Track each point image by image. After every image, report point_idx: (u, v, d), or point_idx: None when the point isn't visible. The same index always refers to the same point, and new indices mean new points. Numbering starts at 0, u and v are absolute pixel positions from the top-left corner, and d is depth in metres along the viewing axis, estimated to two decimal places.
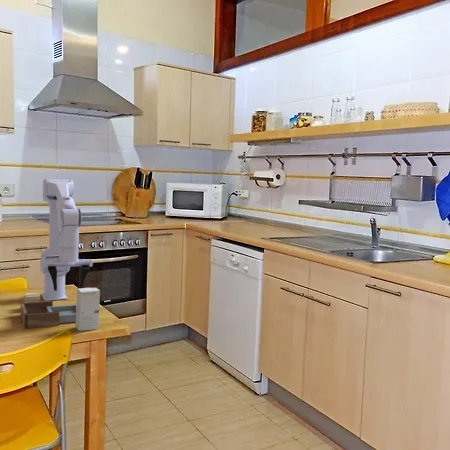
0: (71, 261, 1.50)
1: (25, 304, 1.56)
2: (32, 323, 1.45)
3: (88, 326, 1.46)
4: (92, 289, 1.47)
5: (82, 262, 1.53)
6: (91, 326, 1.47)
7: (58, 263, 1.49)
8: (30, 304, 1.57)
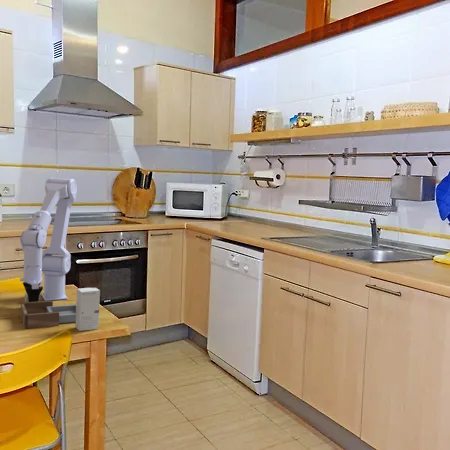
0: (23, 278, 1.61)
1: (25, 304, 1.56)
2: (32, 323, 1.45)
3: (88, 326, 1.46)
4: (92, 289, 1.47)
5: (28, 282, 1.58)
6: (91, 326, 1.47)
7: None
8: (30, 304, 1.57)
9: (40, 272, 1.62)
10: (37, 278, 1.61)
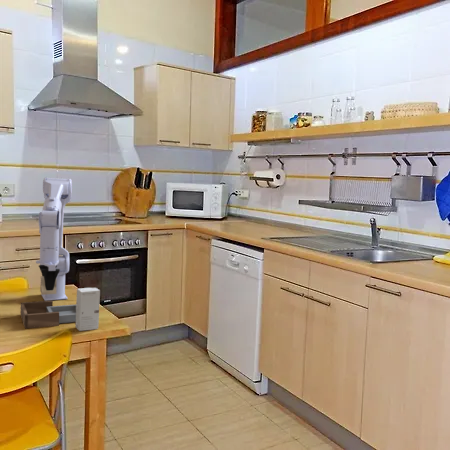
0: (40, 260, 1.56)
1: (25, 304, 1.56)
2: (32, 323, 1.45)
3: (88, 326, 1.46)
4: (92, 289, 1.47)
5: (44, 264, 1.54)
6: (91, 326, 1.47)
7: None
8: (30, 304, 1.57)
9: (57, 254, 1.57)
10: (54, 260, 1.56)
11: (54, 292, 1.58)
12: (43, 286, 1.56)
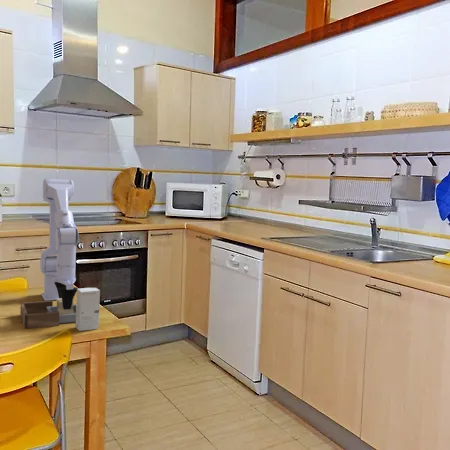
0: (56, 278, 1.53)
1: (25, 304, 1.56)
2: (32, 323, 1.45)
3: (88, 326, 1.46)
4: (92, 289, 1.47)
5: (62, 282, 1.51)
6: (91, 326, 1.47)
7: None
8: (30, 304, 1.57)
9: (74, 272, 1.54)
10: (71, 278, 1.53)
11: None
12: (60, 309, 1.53)
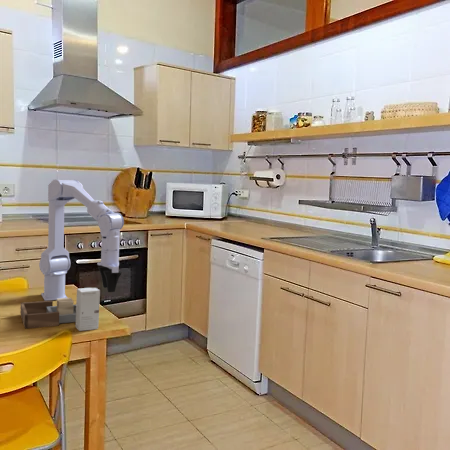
0: (101, 262, 1.59)
1: (25, 304, 1.56)
2: (32, 323, 1.45)
3: (88, 326, 1.46)
4: (92, 289, 1.47)
5: (107, 266, 1.57)
6: (91, 326, 1.47)
7: None
8: (30, 304, 1.57)
9: (117, 256, 1.60)
10: (115, 262, 1.59)
11: None
12: (60, 309, 1.53)
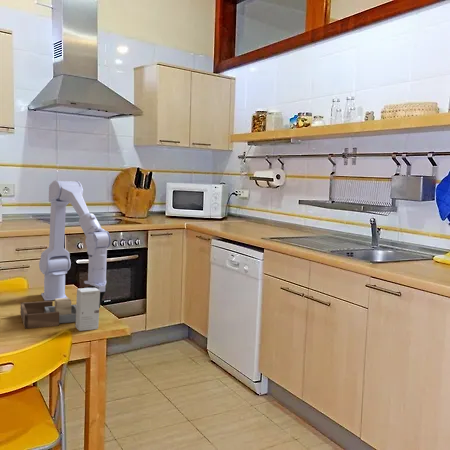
0: (88, 280, 1.58)
1: (25, 304, 1.56)
2: (32, 323, 1.45)
3: (88, 326, 1.46)
4: (92, 289, 1.47)
5: (94, 285, 1.56)
6: (91, 326, 1.47)
7: None
8: (30, 304, 1.57)
9: (105, 275, 1.59)
10: (102, 281, 1.58)
11: None
12: (58, 309, 1.53)
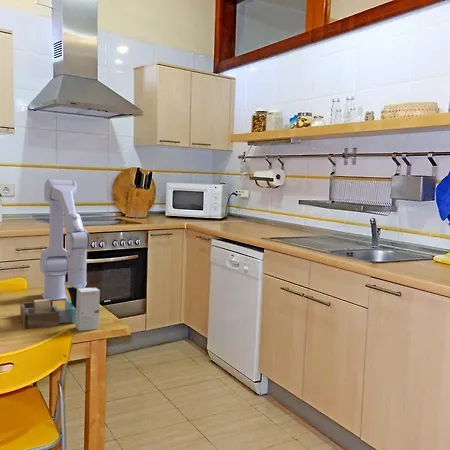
0: (68, 281, 1.55)
1: (25, 304, 1.56)
2: (32, 323, 1.45)
3: (88, 326, 1.46)
4: (92, 289, 1.47)
5: (73, 286, 1.53)
6: (91, 326, 1.47)
7: None
8: (30, 304, 1.57)
9: (85, 276, 1.56)
10: (82, 282, 1.55)
11: None
12: (37, 311, 1.50)
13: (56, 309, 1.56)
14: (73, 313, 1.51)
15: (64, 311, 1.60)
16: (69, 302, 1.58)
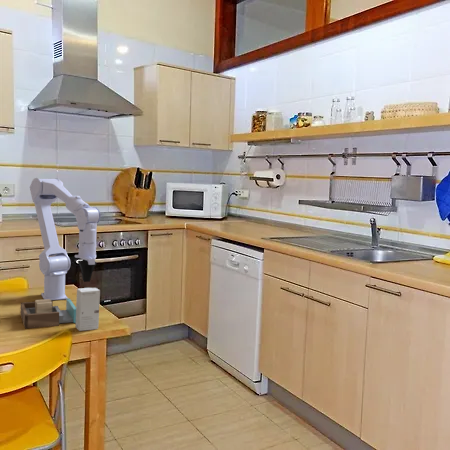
0: (79, 254, 1.65)
1: (25, 304, 1.56)
2: (32, 323, 1.45)
3: (88, 326, 1.46)
4: (92, 289, 1.47)
5: (84, 258, 1.62)
6: (91, 326, 1.47)
7: None
8: (30, 304, 1.57)
9: (95, 249, 1.66)
10: (92, 255, 1.65)
11: None
12: (38, 311, 1.50)
13: (57, 309, 1.57)
14: (74, 313, 1.51)
15: (65, 311, 1.60)
16: (70, 302, 1.58)
